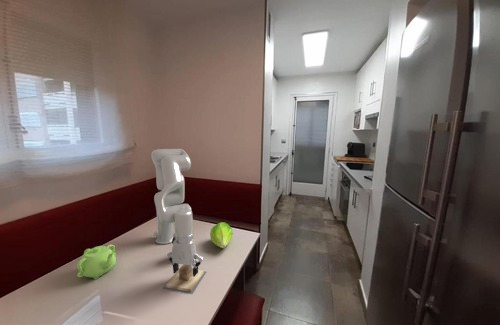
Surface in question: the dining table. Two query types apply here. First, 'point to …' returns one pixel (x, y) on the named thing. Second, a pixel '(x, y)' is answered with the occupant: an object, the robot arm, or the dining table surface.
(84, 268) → the teapot
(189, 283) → the lid
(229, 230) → the lettuce
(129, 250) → the dining table surface
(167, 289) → the mat
